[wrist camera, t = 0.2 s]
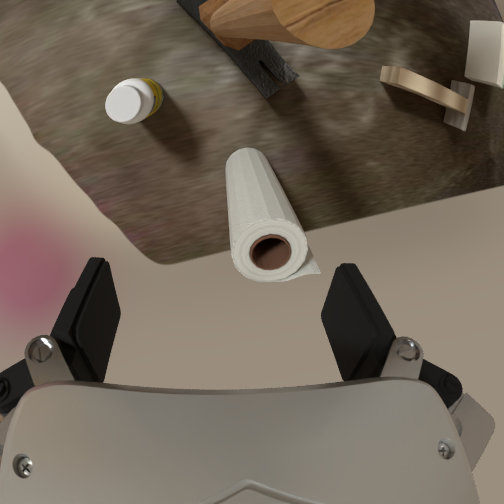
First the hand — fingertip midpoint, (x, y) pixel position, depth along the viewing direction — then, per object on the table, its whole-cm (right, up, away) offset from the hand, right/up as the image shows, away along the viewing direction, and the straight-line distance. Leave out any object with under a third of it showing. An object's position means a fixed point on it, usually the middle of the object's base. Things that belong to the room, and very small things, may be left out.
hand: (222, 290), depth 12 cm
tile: (+39, +36, +18) cm, 56 cm away
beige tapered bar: (+27, +27, +23) cm, 44 cm away
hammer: (-2, +30, +17) cm, 35 cm away
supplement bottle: (-13, +22, +21) cm, 33 cm away
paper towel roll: (+1, +13, +29) cm, 32 cm away
